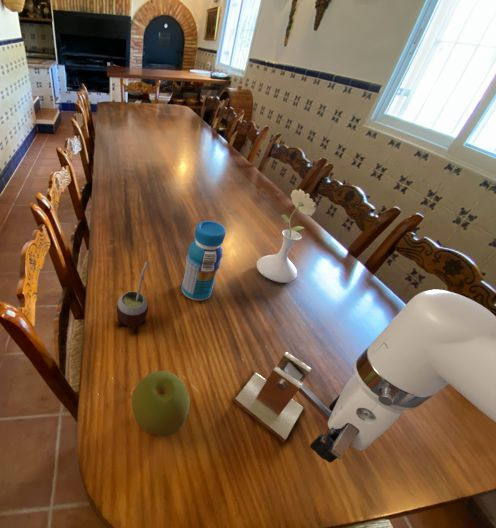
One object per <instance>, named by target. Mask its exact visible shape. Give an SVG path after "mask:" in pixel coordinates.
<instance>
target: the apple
mask: <svg viewBox="0 0 496 528" xmlns="http://www.w3.org/2000/svg"><path fill="white" fill-rule="evenodd" d="M190 404H191V397H190V395H189V392H188V390H187V387H186V385H185V382H184V381H183V380H182V379H181V378H180V377H179V376H177V375H176V374H174V373H172V372H170V371H168V370H157V371H153V372H150V373H148V374H147V375H146V376H144V377H143V378H142V379H141V380H139V382H137V384H136V386H135V388H134V389H133V390H132V397H131V410H132V415H133V417H134V420H135V422H136V423H137V424H138V426H139V427H140V428H141V429H142V430H143V431H145V432H146V433H148V434H150V435H152V436H156V437H168V436H172V435H175V434H177V432H178V431H180V429H182V428H183V427H184V424H185V423H186V420H187V418H188V414H189V412H190V408H191V406H190Z"/></svg>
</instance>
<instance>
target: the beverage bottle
mask: <svg viewBox="0 0 496 528" xmlns="http://www.w3.org/2000/svg"><path fill="white" fill-rule="evenodd" d="M225 237H226V227H224V226H223V224H221V223H219V222H216V221H213V220H203V221H200V222H198V224H197V225H196V227H195V232H194V239H193V241H192V242H191V243H190V245H189V247H188V252H187V254H186V257H185V269H184V275H183V278H182V282H181V288H180V289H181V292H182V294H183V295H184V296H185V297H186V298H188V299H190V300H192V301H205V300H207V299H209V298H210V297H211V295H212V293H213V288H214V284H215V280H216V277H217V274H218V272H219V269H220V267H221V264H222V258H223V255H224V254H223V252H224V251H223V247H222V244H223V243H224V240H225Z"/></svg>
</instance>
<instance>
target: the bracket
mask: <svg viewBox="0 0 496 528" xmlns="http://www.w3.org/2000/svg"><path fill="white" fill-rule="evenodd" d="M289 362H290V363H291V364H292V365H293V366H294V367H295V368H296V369H297V370H298V371H299V372H300V373H301V374H302V375H303V376H302V377H301V379H300V381H301V382H302V383H303V382H304V380H305V379H306V377H307V376H308V375H309V373H310V372H311V371H312V368H311V367H310V366H308V365H307V364H306V363H304V362H302V361H301V360H299V359H298V358H296V357H295V356H293V355H292V354H291V353H289V352H287V351H285V353H284V354H283V356H282V357H281V359H280V361H279V362H278V364H277V365H275V367H274V368H273V369H272V371H271V373H270V374H269V376H268V377H267V379H266V378H264V377H263V376H262V375H261V374H259V373H257V372H256V371H255V372H254V373H253V375H252V376H251V377H250V379H249V380H248V381H247V383H246V384H245V385H244V386H243V388H241V390H240V392H239V393H238V394H237V396H236V397H235V398H234V400H233V403H235V404H236V405H237V406H239V408H241V409H242V410H243V411H245V412H246V413H247V414H248V415H250V416H251V417H252V418H253V419H254V420H255V421H256V422H258V423H259V424H260V425H261V426H263V427H264V428H265V429H266V430H267V431H269V432H270V433H271V434H272V435H274V436H275V437H276V438H277V439H278V440H279V441H281V442H282V443H285V441H286V440H287V438H288V437H289V435H290V433H291V431H292V430H293V428H294V426H295V424H296V422H297V421H298V419H299V418H300V415H301V413H302V411H303V410H304V407H303V406H302V405H301V404H300V403H298V402H297V401H296V400H294V399H293V398H294V396H295V395H296V394H297V393H298V392H299V391H298V390H299V389H300V387H301V386H302V384H301V383H300V382H298V381H297V380H295V379H294V378H292V377H291V376H290V375H288V374H287V373H285V372H284V371H282V370H281V369H280V367H281V366H283V365H285V364H287V363H289Z"/></svg>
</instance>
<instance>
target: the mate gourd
mask: <svg viewBox="0 0 496 528" xmlns="http://www.w3.org/2000/svg"><path fill="white" fill-rule="evenodd" d="M148 263H149V261H148V260H146V261H145V262H144V265H143V267H142V270H141V273H140V276H139V282H138V288H137V291H134V290H133V291H132V290H131V291H127V292H125V293H123V294H122V295H121V296H120V297H119V299H118V301H117V304H116V318H117V320H118V322H117V325H118V327H124V326H127V327H130V329H131V330H130V331H131V333H132V334H133V335H134V334H137V331H136V327H138V326H139V325H141V324H143V323H144V324H145V322H146V320H145V319H146V318H147V316H148V312H149V305H148V301H147V299H146V298H145V297H144V295H143V294H142V293H141V289H142V285H143V281H144V278H145V272H146V269H147V266H148Z"/></svg>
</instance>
